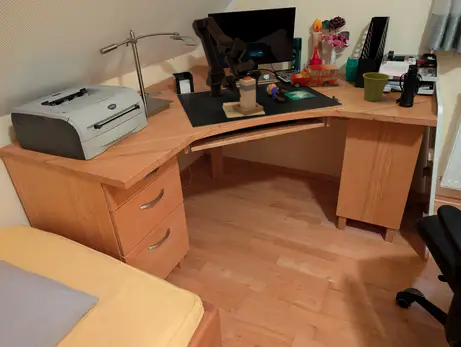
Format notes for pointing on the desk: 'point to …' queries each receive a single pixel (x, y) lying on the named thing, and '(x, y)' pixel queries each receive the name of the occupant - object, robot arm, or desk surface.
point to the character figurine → (277, 91)
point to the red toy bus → (316, 76)
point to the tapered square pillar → (247, 93)
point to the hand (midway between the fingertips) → (249, 95)
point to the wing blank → (230, 104)
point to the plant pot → (374, 85)
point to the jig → (243, 111)
